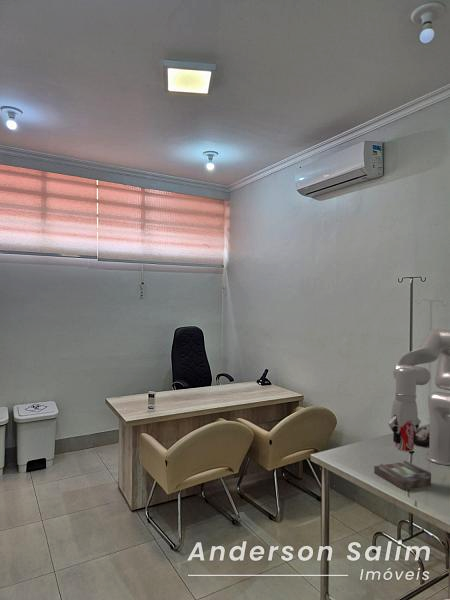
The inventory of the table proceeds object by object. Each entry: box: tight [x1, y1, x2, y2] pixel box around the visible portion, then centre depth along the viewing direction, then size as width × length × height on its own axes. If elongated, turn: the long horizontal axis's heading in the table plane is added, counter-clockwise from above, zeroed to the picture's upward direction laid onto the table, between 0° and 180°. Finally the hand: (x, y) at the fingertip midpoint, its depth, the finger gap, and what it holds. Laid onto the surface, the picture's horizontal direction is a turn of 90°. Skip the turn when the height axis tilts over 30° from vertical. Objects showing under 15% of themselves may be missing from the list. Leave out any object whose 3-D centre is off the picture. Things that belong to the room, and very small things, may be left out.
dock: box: [373, 460, 432, 491], centre depth 161 cm, size 14×16×5 cm
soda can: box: [394, 422, 415, 453], centre depth 161 cm, size 7×7×12 cm
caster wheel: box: [414, 426, 430, 448], centre depth 205 cm, size 7×11×10 cm
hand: (404, 441), depth 161 cm, fingers closed on soda can, 7 cm apart
